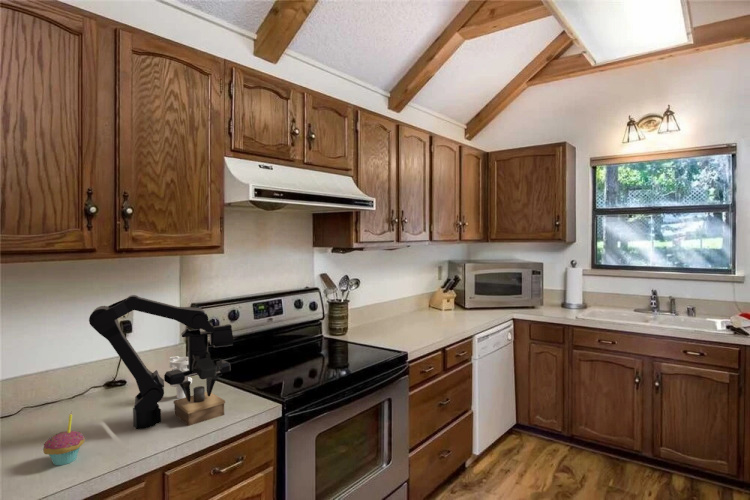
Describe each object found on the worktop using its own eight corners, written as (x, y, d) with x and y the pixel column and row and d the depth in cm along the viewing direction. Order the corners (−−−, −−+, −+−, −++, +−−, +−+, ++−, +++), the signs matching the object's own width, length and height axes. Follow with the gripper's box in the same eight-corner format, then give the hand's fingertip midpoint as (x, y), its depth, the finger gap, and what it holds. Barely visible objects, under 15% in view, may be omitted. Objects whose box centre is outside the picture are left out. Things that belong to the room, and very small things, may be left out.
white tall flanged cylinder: (173, 396, 154) (172, 354, 153) (194, 394, 155) (193, 353, 155) (167, 403, 147) (166, 359, 146) (189, 402, 148) (189, 358, 148)
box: (188, 428, 128) (188, 413, 128) (174, 417, 136) (174, 403, 136) (224, 417, 136) (224, 403, 136) (208, 407, 144) (208, 393, 143)
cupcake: (68, 450, 115) (67, 405, 115) (93, 455, 113) (92, 409, 112) (35, 467, 107) (33, 419, 107) (61, 472, 105) (59, 423, 104)
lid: (188, 413, 128) (187, 397, 127) (173, 403, 136) (173, 388, 135) (225, 403, 136) (224, 387, 135) (209, 393, 144) (208, 379, 144)
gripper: (177, 360, 123) (178, 415, 123) (238, 348, 136) (239, 397, 136) (163, 353, 131) (164, 404, 131) (222, 342, 144) (223, 388, 144)
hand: (199, 398), depth 136 cm, fingers open, 6 cm apart
